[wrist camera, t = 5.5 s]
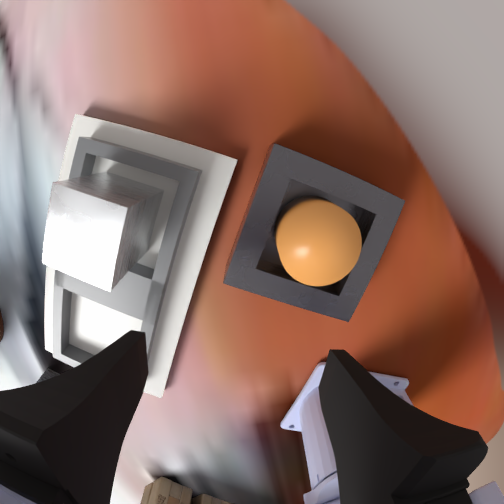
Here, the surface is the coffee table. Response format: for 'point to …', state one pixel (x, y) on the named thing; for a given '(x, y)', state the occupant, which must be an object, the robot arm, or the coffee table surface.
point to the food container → (1, 327)
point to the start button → (317, 240)
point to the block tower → (174, 494)
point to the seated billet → (99, 226)
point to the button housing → (263, 222)
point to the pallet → (159, 251)
